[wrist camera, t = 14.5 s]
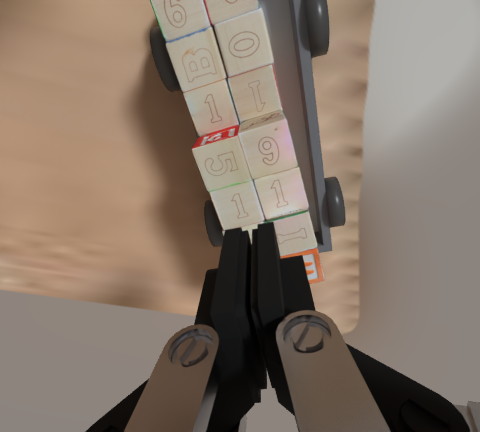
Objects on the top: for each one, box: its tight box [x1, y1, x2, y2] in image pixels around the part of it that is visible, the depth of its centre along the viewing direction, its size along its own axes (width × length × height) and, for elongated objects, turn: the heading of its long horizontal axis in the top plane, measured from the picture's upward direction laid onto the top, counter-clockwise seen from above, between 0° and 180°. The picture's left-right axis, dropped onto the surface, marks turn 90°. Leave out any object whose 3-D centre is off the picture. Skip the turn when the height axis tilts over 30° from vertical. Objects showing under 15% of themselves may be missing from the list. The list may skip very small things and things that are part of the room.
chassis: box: [150, 0, 345, 253], centre depth 29 cm, size 26×13×5 cm, turn 12°
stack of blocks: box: [150, 0, 325, 284], centre depth 25 cm, size 21×6×12 cm, turn 16°
